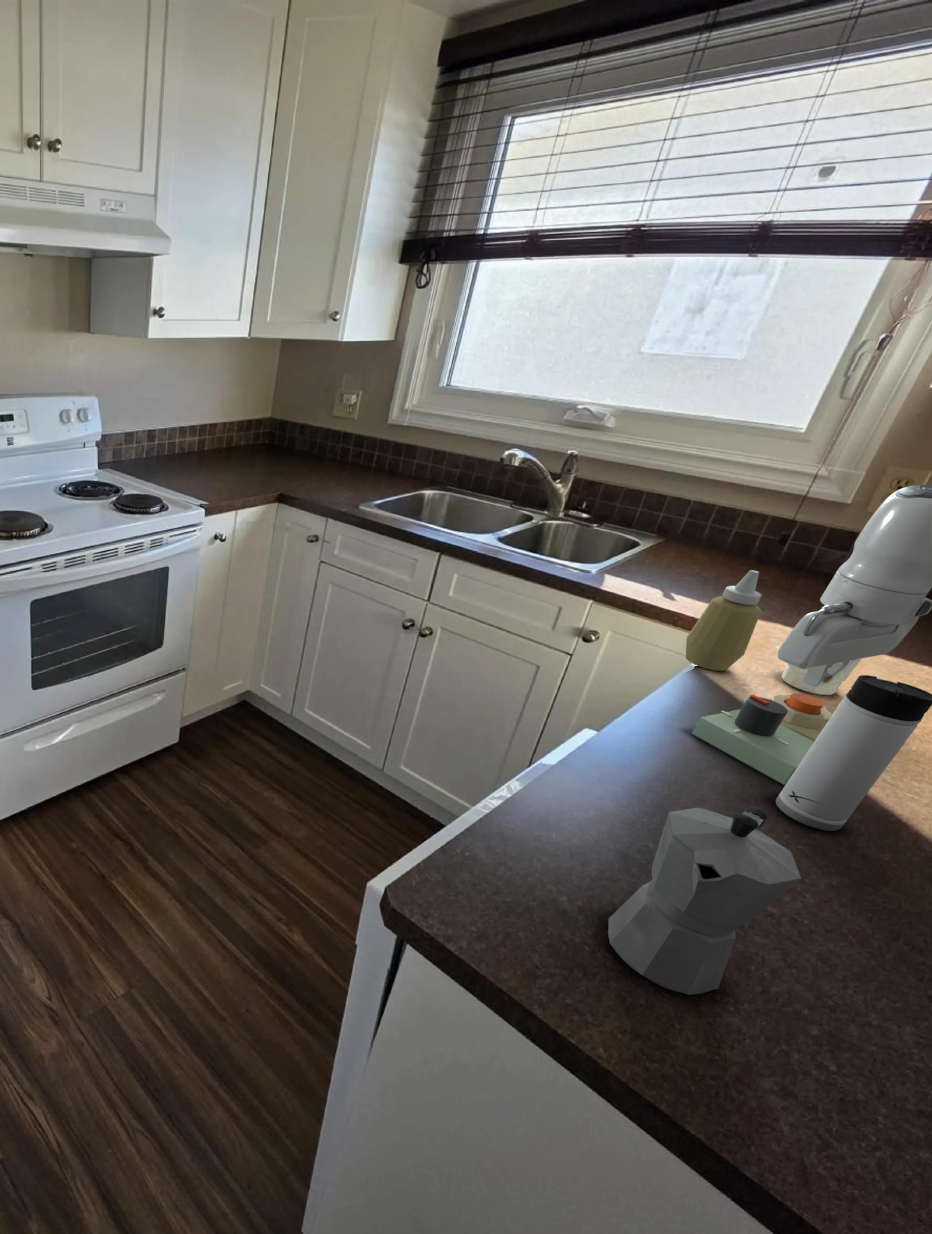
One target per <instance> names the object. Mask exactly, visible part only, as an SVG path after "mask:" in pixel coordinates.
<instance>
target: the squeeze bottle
mask: <svg viewBox="0 0 932 1234" xmlns="http://www.w3.org/2000/svg"><path fill="white" fill-rule="evenodd" d="M759 575H760V571H757V570H754V569H750V570H748V572H747V573H746V574H745V575H744V576H743V577H742V579H740V581H739V582H738V583H737V584H736V585H729V586H726V587H725V589H724V591H723V593H722V595H720V596H716V597H714V598H712V599H711V601H709V603H708V605H707V607H706V608H705V609H704V611H703V612H702V614H701V615H700V617H699V618H698V620H697V621H696V623H695V624H694V626H693V627H692V629H690V631H689V633H688V635H687V636H686V645H685V659H686V660H687V661H688V662H690V663H691V664H693V665H695V666H698V667H700V668H702V669H705V670H706V669H707V670H711V671H717V672H718V671H719V672H721V671H726V670H727V669H729V668H730V667H731V666H733V664H735V663H736V662H737V661H738V660H740V659H741V658H742V657H743V656H745V654H746V651H747V649H748V646H749V644H750V641H751V638H752V636H753V634H754V631H755V628H756V625H757V623H758V621H759V618H760V616H761V613H762V610H761V608H760V607H759V606H758V604H759V602H760V600H761V598H762V593H760V592H759V591H756V588H757V584H758V579H759Z"/></svg>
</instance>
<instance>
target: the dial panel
mask: <svg viewBox="0 0 932 1234" xmlns="http://www.w3.org/2000/svg"><path fill="white" fill-rule="evenodd" d="M741 709H742V708H740V709H735V710H730V711H725V710H721V711H720V713H716V714H715V713H714V714H711V715H706V716H700V718H699V720H698V721H697V723H696V725H695V727H694V729H693V731H692V733H691V735H694V736H695V737H697V738H698V739H701V740H702V741H704V742H706V743H708V744H709V745H711V746H713V747H715V748H717V749H719V750H721V751H722V752H723V753H726V754H727V755H730V756H731V757H733V758H735V759H737V760H739V761H740V762H742V763H744V764H746V765H748V766H749V767H751V768H753V769H754V770H756V771H758V772H760V773H762V774H764V775H765V776H767V777H769V778H771V779H773V780H774V781H776V782H778V783H780V784H781V785H783V786H785V785H786V784H787V782H788V781H789V779H790V778H791V776H792V775H793V773H794V772H795V770H796V769H797V767H798V766H799V764H800V763H801V761H802V760H803V758H804V757H805V755H806V754H807V752H808V751H809V749H810V748H811V746H812V745H813V743H814V741H812V740H810V739H808V738H806V737H804V736H802V735H800V734H798V733H796V732H794V731H792V730H790V729H788V728H786V727H784V726H782V725H779V727H778V728H777V730H776V732H775V733H774V735H772V736H761V735H756V734H753V733H750V732H748V731H746V730H744V729H742V728H740V727H739V726H737V725H736V724H735V722H734V721H735V719H736V717H737V715H738V714H739V712H740V710H741Z"/></svg>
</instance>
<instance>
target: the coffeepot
mask: <svg viewBox="0 0 932 1234" xmlns="http://www.w3.org/2000/svg"><path fill="white" fill-rule="evenodd" d="M667 813H668V815H667V817H666V820H665V823H664V827H663V830H662V833H661V836H660V839H659V842H658V845H657V849H656V852H655V854H654V859H653V862H652V866H651V878H652V879H651V880H650V882H647V883H645V884H642V885H641V886H640V887H639V888H638V889H637V890H636V891H635V892H634V893H633V894H632V895H631V896H630V897H629V898H628V899H627V900H626V901H625V902H623V904H622V905H621V906H620V907H619V908H618V909H617V910H616V911H614V912H613V914H612V915H611V916H609V917H608V929H607V936H608V940H609V944H610V946H611V948H613V950H614V951H615V952H616V954H617V955H618V956H619V957H620V958H621V959H622V960H623V961H624V962H625V963H626V964H627V965H628V966H629V967H630V968H631V969H633V970H634V971H635V972H637V973H638V974H639V975H641V976H642V977H644V978H646V979H647V980H649V981H650V982H652V983H654V984H656V985H658V986H661V987H662V988H665V989H667V990H670V991H673V992H676V993H679V994H680V993H681V994H685V995H687V996H690V995H691V996H693V995H702V994H705V993H707V992H710V991H714V990H718V989H719V988H720V985H721V982H722V979H723V977H724V973H725V971H726V968H727V966H728V962H729V959H730V956H731V954H732V951H733V948H734V944H735V942H736V939H737V938H736V930H737V929H738V927H739V926H743V925H746V924H749V923H751V922H752V921H754V920H755V919H756V918H757V917H758V916H759V915H761V914H762V913H763V912H764V911H765V910H766V909H768V908H769V907H770V906H771V905H772V904H773V903H774V902H776V901H777V900H778V899H779V898H781V896H783V895H784V894H785V893H786V892H787V891H789V890H790V889H791V888H792V887H793V886H794V885H796V884H797V883H798V882H799V881H800V880H802V877H801V874H800V871H799V869H798V867H797V864H796V862H795V859H794V855H793V853H792V852H791V850H789V849H787V848H786V847H784V846H782V845H781V844H779V843H778V842H777V841H775V840H774V839H773V838H771V837H769V836H768V835H766V834H765V833H764V832H762V831H761V830H760V828H762V826H763V825H764V824H765V822H766V820H767V818H768V815H767V813H766V811H765V810H763V809H762V808H760V807H758V806H749V807H747V808H746V809H745V810H744V811H743V812H742V813H734V816H733V817H731V816H726V815H724V814H722V813H718V812H715V811H713V810H712V811H711V810H708V809H706V808H702V807H693V808H686V809H680V810H673V811H669V812H667Z"/></svg>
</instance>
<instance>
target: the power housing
mask: <svg viewBox="0 0 932 1234" xmlns="http://www.w3.org/2000/svg"><path fill="white" fill-rule="evenodd" d="M790 696H791V695H787V694H778V695H774V696H773V697H772V698H770V699H769V700H772V701H775V702H777V703H779V704H781V705H783V706H784V707H785V708H786V709H787V710H788V713H787V714H786V716H785V717H784V719H783V720H782V722H781V724H780V725H782V726H784V727H786V728H788V729H790V730H792V731H794V732H796V733H798V734H800V735H802V736H804V737H806V738H808V739H810V740H812V741H814V742H815V740H816V739H817V737H818V736H819V734H820V733H821V731H822V730H823V728H824V727H825V725H826V724H827V722H828V721H829V719H830V718H831V716H832V715H833V713H832V712H831V711H830V710H828V709H827V708H825V707H824V706H823V707H822V708H821V710H820V711H819V713H818V714H817V715H812V714H807V713H803V712H800V711H797V710H795V709H793V708H791V707H789V706H788V705H787V704H786V702H787V700H788V699H789V697H790Z"/></svg>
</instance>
